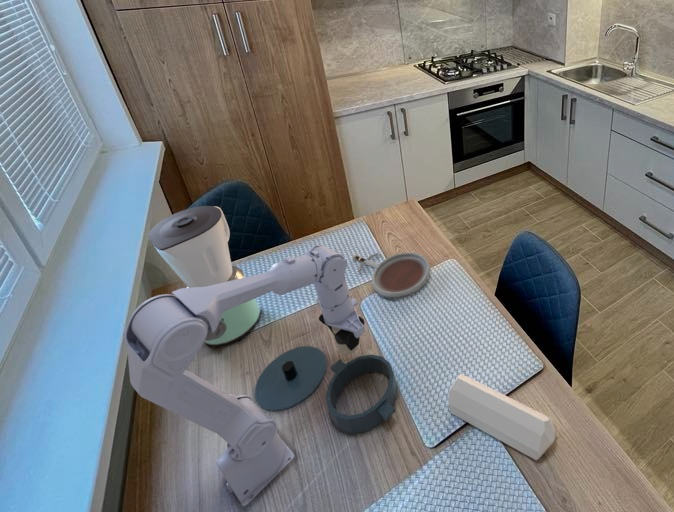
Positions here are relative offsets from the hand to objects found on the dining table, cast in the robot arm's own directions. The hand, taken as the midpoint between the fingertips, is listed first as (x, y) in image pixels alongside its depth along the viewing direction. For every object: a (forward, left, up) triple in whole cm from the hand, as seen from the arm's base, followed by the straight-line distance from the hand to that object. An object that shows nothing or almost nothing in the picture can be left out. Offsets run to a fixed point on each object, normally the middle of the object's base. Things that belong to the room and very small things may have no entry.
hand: (347, 340), depth 90 cm
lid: (-10, +11, -10) cm, 17 cm away
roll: (0, 0, -2) cm, 2 cm away
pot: (-3, -7, -10) cm, 13 cm away
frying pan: (+24, +19, -11) cm, 33 cm away
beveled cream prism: (+11, -34, -11) cm, 37 cm away
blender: (-11, +38, -11) cm, 41 cm away
